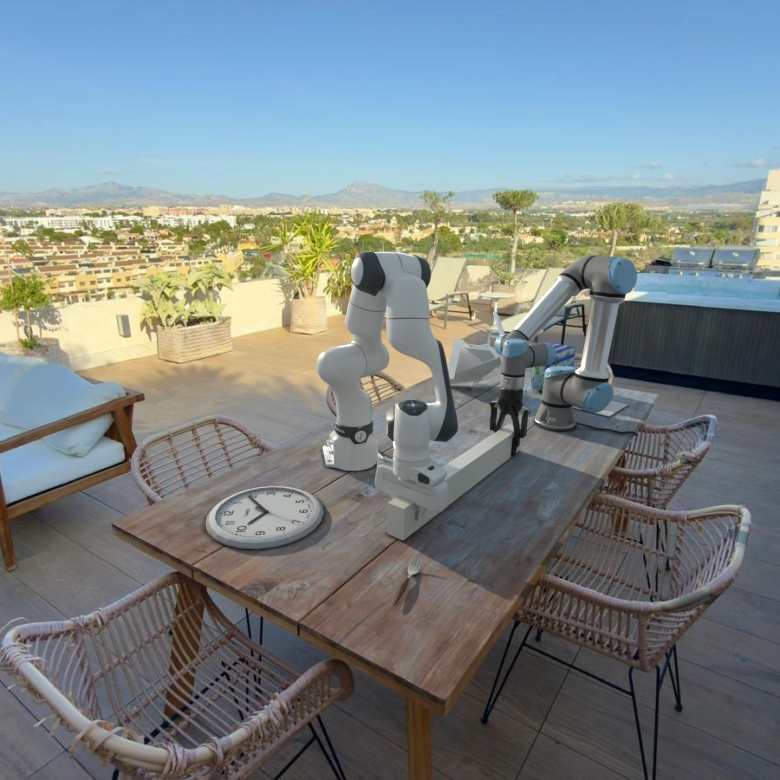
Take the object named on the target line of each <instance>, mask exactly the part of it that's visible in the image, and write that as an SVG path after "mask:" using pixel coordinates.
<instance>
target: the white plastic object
mask: <svg viewBox="0 0 780 780" xmlns="http://www.w3.org/2000/svg"><path fill="white" fill-rule="evenodd" d="M492 315H493V319H494V321H495V324H496V325H495V326H496V328H497V332H498V336H500V335H503V334H505V331H504V328H503V325H502V321H501V318H500V315H499V314H498V312H497V311H496V310H495V311H492ZM500 366H502V355H499V354H498V353H497V352H496V351H495V349H493V348H492V347H491V346H490V344H489V343H488V342H487V343H483V344H479V345H473V346H469V345H468V343H466V342H465V340H464V339H463V338H460V339H458V338H454V340H453V344H452V349H451V353H450V357H449V362H448V365H447V367H448V372H449V378H450V384H451V385H458V384H467V383H468V384H469V383H473V384H477V383H480V382H482V381H484V378H485V377H486V376H487V375H489V374H490V373H492V372H494V371H495V370H496V369H497V368H499V367H500ZM528 387H529V386H528V384H527V381H526V377H525V378H524V387H523V394H524V395H525V396H526V397H528V396H531V395H530V390H529V388H528Z"/></svg>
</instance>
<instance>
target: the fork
mask: <svg viewBox="0 0 780 780" xmlns="http://www.w3.org/2000/svg"><path fill="white" fill-rule="evenodd" d="M414 555H415V553H413V554H412V557H411V559H410V562H409V565H408V567H407V573H408V576H407V578H406V579H405V580H404V582H403V583H402V584H401V586H400V587H399V591H398V593H397V596H396V598H395V601H394V604H393V606H396V604H397V603H398V602H399V600H400V599H401V598H402V596H403V594H404V593H405V591H406V590H407V588H408V585H409V582H410V579H411V577H412V576H414V575H417V574H418V573H419V572H420V570H421V565H422V561H423V557H424V556H423V555H422V556H421V555H417V554H416V555H415V557H414ZM417 556H418V558H417ZM420 556H421V557H420ZM420 558H421V559H420ZM413 559H414V560H413ZM416 559H417V560H416ZM419 560H420V562H419ZM415 563H416V564H415Z"/></svg>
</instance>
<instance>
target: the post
mask: <svg viewBox="0 0 780 780" xmlns="http://www.w3.org/2000/svg"><path fill="white" fill-rule="evenodd" d="M520 430H521V426H520ZM513 437H515V435H514V428H513V424H511V423H508V424H505V426H502V428H501V429H500V430H498V431H497V432H495V433H492V434H491V435H489V436H488V437H486V438H485V439H482V441H480V442H478V443H477V444H475V445H474V446H472V447H471V448H469V449H467V450H466V451H465V452H463V453H461V454H460V455H459V456H457V457H456V458H454V459H453V460H451V461H450V462H447V463H446V464H445V465H443V466H442V467H443V468H444V469H446V471H447V476H446V477H445V478H444V480H445V481H446V482H447V485H448V506H447V507H449V506H450V505H451V504H453V503H454V502H455V501H457V500H458V499H459V498H460V497H461V496H463V495H464V494H465V493H467V492H468V491H470V490H471V489H472V488H473V487H474V486H476V485H478V483H479V482H481V481H482V480H483V479H485V478H486V477H487V476H489V475H490V474H491V473H493V472H494V471H495V470H496V469H498V468H499V467H500V466H501V465H503V464H504V463H505V462H507V461H508V460H510V458H512V456H511V448H512V438H513ZM521 439H522V438H520V440H521ZM520 447H521V444H520V445H519V447H517V451H516V454H517V453H518V452H520ZM418 511H421V510H419V506H417V505H415V504H414V502H411V501H409V500H406V499H404V498H401V497H396V498H394V499H393V500H392V499H391V500H390V501H388V502H387V535H389V536H391V537H393V538H395V539H398V540H400V541H405V540H406V539H407V538H409V537H410V536H411V535H413V534H414V533H415V532H416V531H418V530H419V529H420V528H421V527H423V526H424V525H426V524H427V523H429V521H431V520H432V519H433V518H435V517H436V516H437V515H439V513H435V512H433V511H430V510H428V509H427V510H426V511H425V513H424V518H423V520H422V521H418V520H416V519H415V514H416V513H417V512H418Z"/></svg>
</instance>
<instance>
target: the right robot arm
mask: <svg viewBox="0 0 780 780" xmlns="http://www.w3.org/2000/svg"><path fill="white" fill-rule="evenodd" d="M637 280H638V271H637V267H636V265H635V264H634V262H633V261H632V260H631V259H630V258H627V257H621V256H608V255H595V254H594V255H593V254H590V255H585V256H583V257H580V258H579V259H577V260H575V261H574V262H572V263H571V264H570V265H568V266H567V267H566V268H564V269H563V270H562V272H561V273H560V274H559V275H557V277H556V278H555V283H554V284H553V285H552V286H551V287H550V289H548V291H547V292H545V294H544V295H543V296H542V297H541V298H540V299H539V300H538V302H537V303H536V304H535V305H533V307H532V308H531V309H530V310H529V312H528V313H527V314H526V315H524V317H523V318H522V319H521V320H520V321H519V322H518V324H517V325H516V326H515V327H514V328H513V329H512V330H511V331H510V332H509V333H508V334H505V333H504V334H503V335H498V337H496V338H495V341H494V350H495V351H496V352H497V353H498V354H499V355H502V363H501V370H500V371H501V372H500V382H499V385H500V387H499V395H498V397H499V398H498V400H492V401H491V402H489V407H490V416H489V417H490V418H489V430H490V431H491V432H494V433H495V432H497V431H498V430H500V429H501V428H503V425H504V421H505V420H506V417H507V415H509V416H510V418H511V420H512V421H511V422H512V425H513V428H514V435H515V437H513V438H512V448H511V456H512V457H515V456H516V455H517V453H516V451H517V447H519V445H520V446H521V439H524V438H525V437H526V436H527V434H528V433H527V432H528V425H529V424H528V423H529V415H530V413H531V411H532V409H531V408H529V407H528V408H527V407H525V406H524V404H523V399H524V391H523V387H524V378H525V379H526V369H532V367H539V366H545V365H550V364H552V363H553V362H554V361H555V358H556V350H555V348H554V346H553V345H554V344H552V343H550V342H534V341H533V340H534V339H535V338H536V337H537V336H538V335H539V333H541V331H542V330H543V329H544V328H545V327H546V326H547V325H548V324H549V322H550V321H552V319H553V318H554V317H555V316H556V315H557V314H558V313H559V311H560V310H562V308H563V307H565V305H566V304H567V303H568V302H569V301H570V300H571V298H572V297H576V296H578V295H579V294H580V293H581V292H582V291H584V290H589V294H588V296H589V297H590V299H591V300H592V303H591V307H590V312H589V313H590V314H589V319H588V323H587V329H586V333H585V340H584V347H583V350H582V356H581V361H580V367H578V368H577V367H575V366H574V367H569V366H555V367H549V368H547V369H546V370H545V374H544V379H543V390H542V391H541V402H540V405H539V407H538V410H537V411H536V413H535V416H534V424H535V425H536V426H537V427H539V428H542V429H544V430H549V431H556V432H567V431H572V430H574V429H575V428H576V425H577V426H581V427H585V428H588V429H592V430H596V431H603V432H604V431H605V432H611V433H615V434H620V435H626V434H630V435H631V434H632V435H634V436H635V437H639V435H638V433H637V432H635V431H633V430H627V431H620V430H616V429H612V428H607V427H605V428H604V427H597V426H592V425H589V424H586V423H582V422H578V421H576V418H575V417H576V416H575V413H574V407H578V408H580V409H582V410H581V411H584V412H588V411H589V412H588V413H593V414H596V413H597V412H600V411H602V410H604V409H605V408H606V407H607V406H608V404H609V403H610V401H612V399H613V396H614V388H613V385H611V383H609V380H610V375H609V374H608V373H607V366H608V361H609V356H610V351H611V347H612V342H613V336H614V331H615V327H616V326H615V325H616V321H617V316H618V310H619V307H620V304H621V303H622V302H623V301H624V300H625V299H626V296H627V294H630V293H632V291H633V289H634V288H635V287H636V284H637ZM498 407H499V409H500V411H499V417H498ZM580 409H579V410H580ZM520 411H521V414H522V415H521V422H520V413H519V412H520ZM497 418H498V419H497ZM520 427H521V430H520ZM494 433H493V434H494ZM520 438H521V439H520ZM512 457H511V458H512Z"/></svg>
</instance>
